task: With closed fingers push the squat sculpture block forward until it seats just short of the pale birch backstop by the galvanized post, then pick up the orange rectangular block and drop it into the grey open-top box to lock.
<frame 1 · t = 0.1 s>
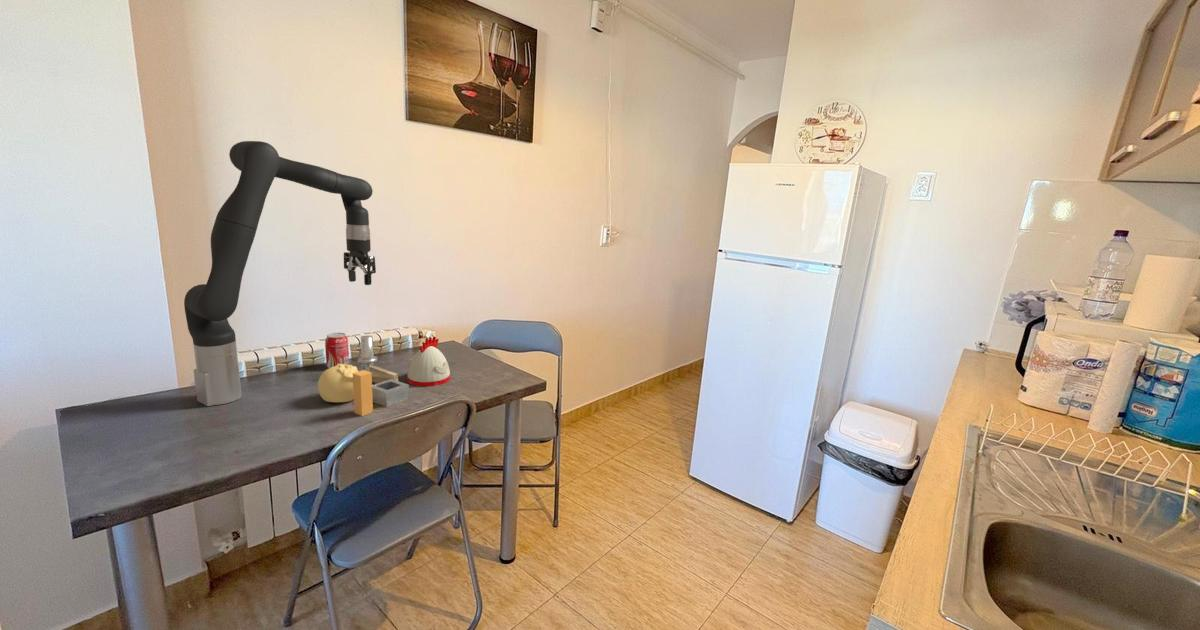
hand: (360, 283, 166), 29 cm above the table, fingers open, 8 cm apart
ringlock post: (368, 376, 158), on the table
orange rectangular block: (363, 412, 132), on the table
bracket seat: (383, 384, 153), on the table
soda can: (338, 367, 164), on the table
grey open-top box: (389, 399, 142), on the table
sculpture: (342, 399, 140), on the table
kitchen timer: (429, 379, 160), on the table
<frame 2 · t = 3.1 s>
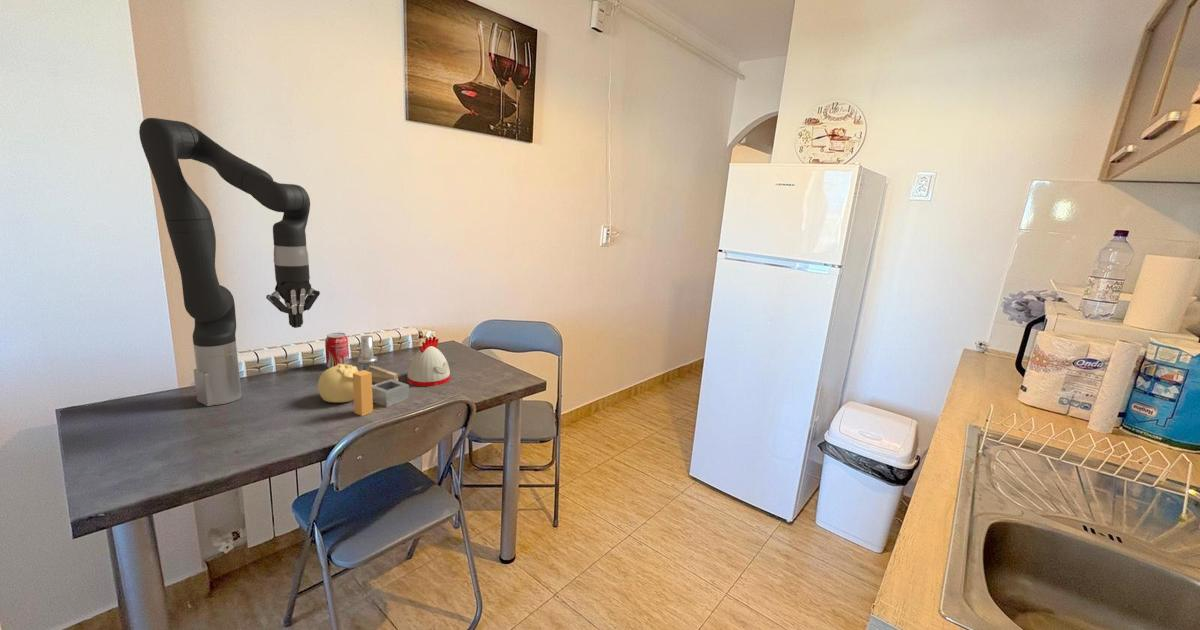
hand: (296, 326, 124), 25 cm above the table, fingers closed
nothing on the table moved.
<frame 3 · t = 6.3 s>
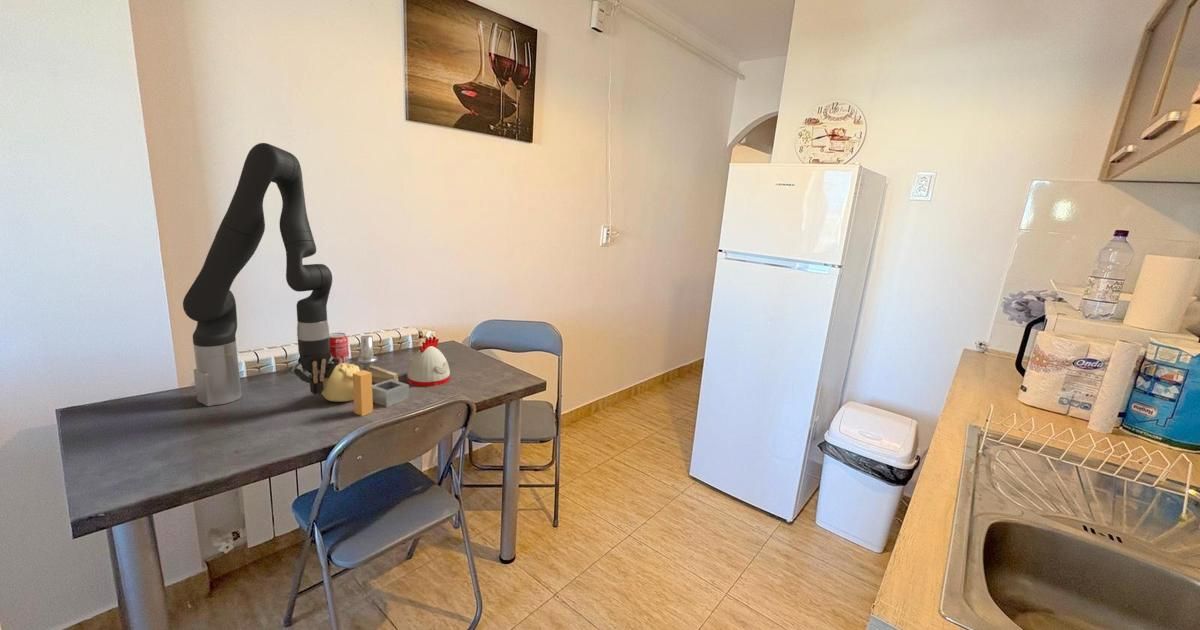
hand: (317, 393, 133), 4 cm above the table, fingers closed
sculpture: (344, 398, 141), on the table, touching gripper
everything else where it was.
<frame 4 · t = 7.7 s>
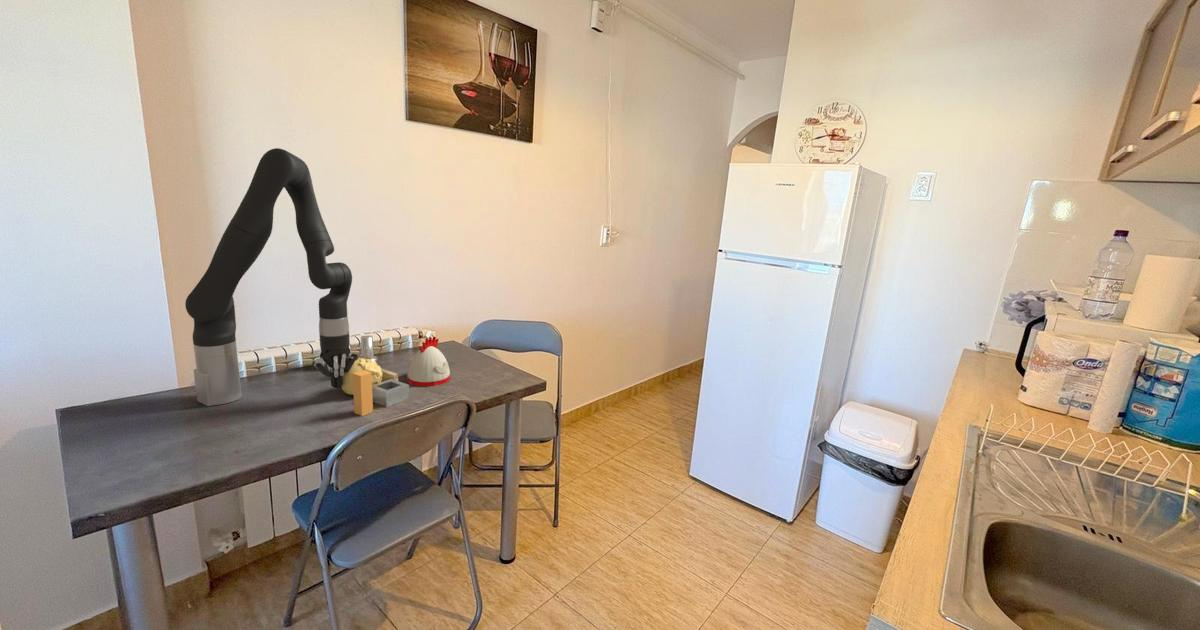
hand: (337, 387, 138), 4 cm above the table, fingers closed
sculpture: (362, 392, 146), on the table, touching gripper
everything else where it was.
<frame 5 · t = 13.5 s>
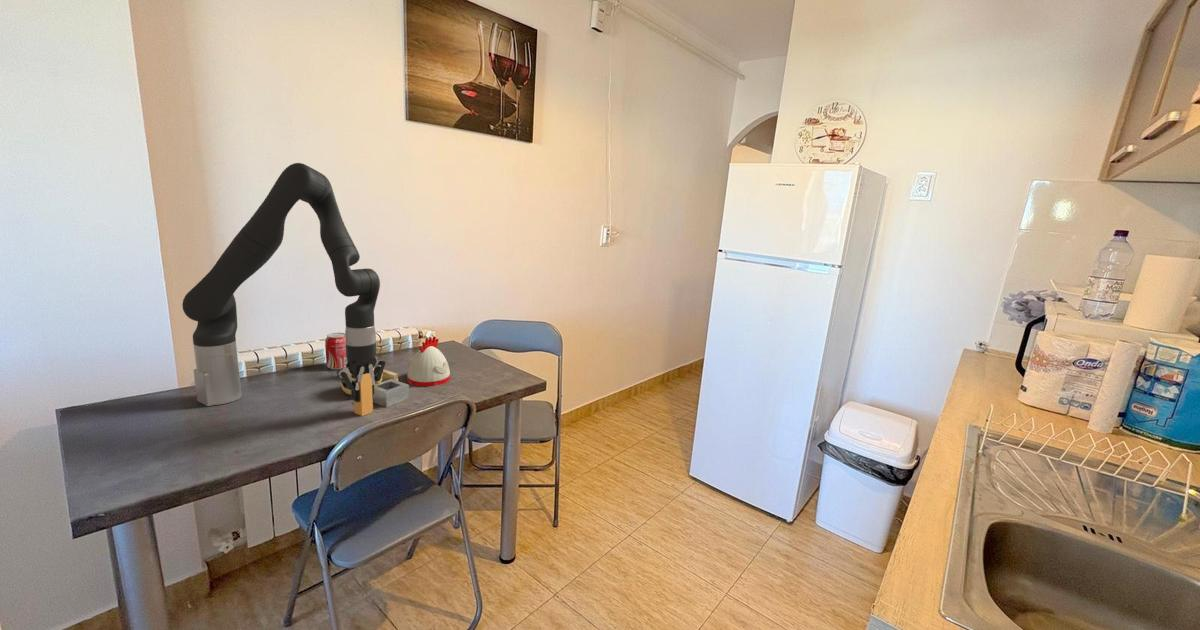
hand: (363, 398, 131), 4 cm above the table, fingers closed on orange rectangular block, 3 cm apart
orange rectangular block: (363, 412, 132), on the table, touching gripper
sculpture: (362, 392, 146), on the table
everything else where it was.
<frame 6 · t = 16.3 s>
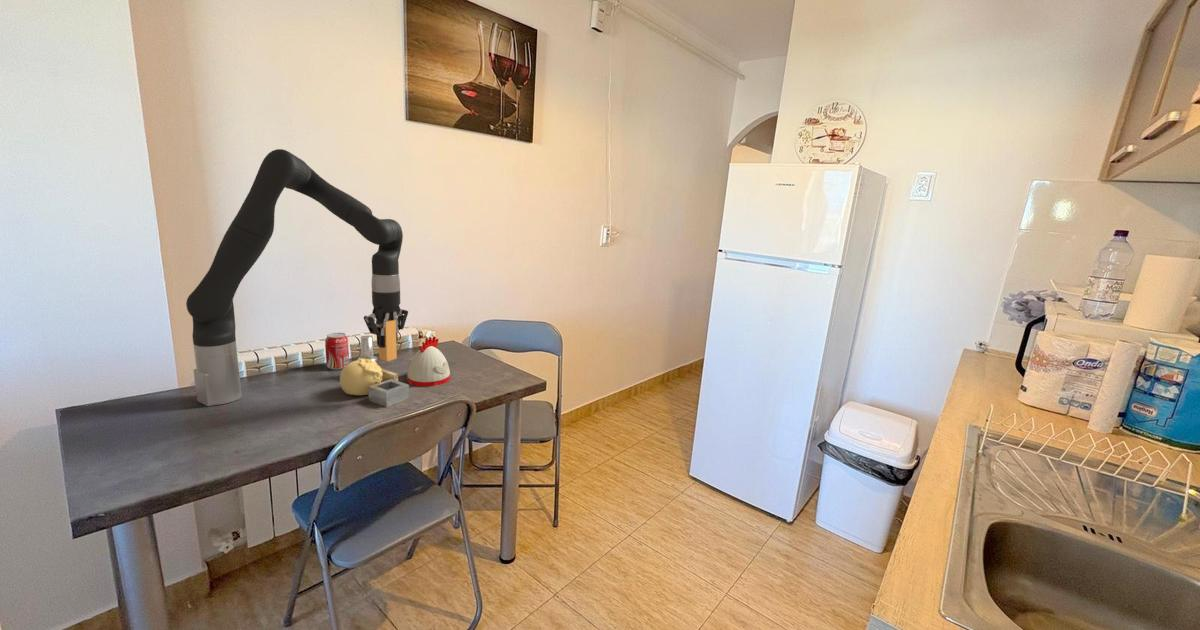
hand: (387, 345, 138), 17 cm above the table, fingers closed on orange rectangular block, 3 cm apart
orange rectangular block: (388, 358, 139), point 13 cm above the table, touching gripper
everything else where it was.
when the fingers open (6 cm above the table, at t = 19.1 s): orange rectangular block drops 1 cm, resting in grey open-top box.
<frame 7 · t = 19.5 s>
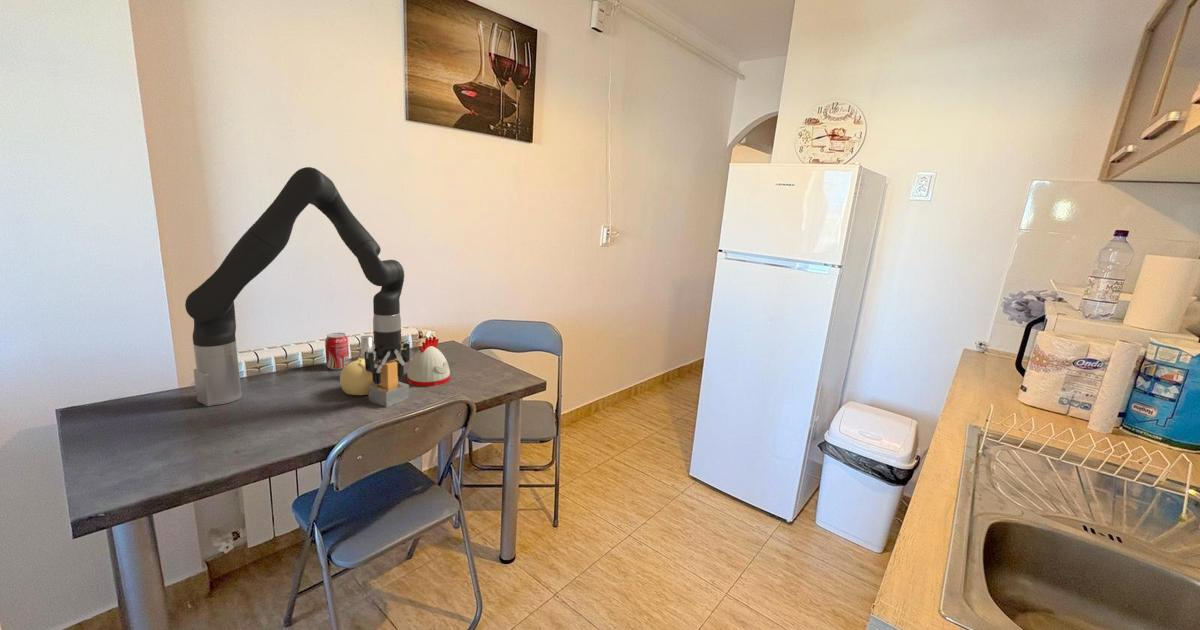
hand: (388, 379, 141), 6 cm above the table, fingers open, 7 cm apart
orange rectangular block: (389, 399, 142), resting in grey open-top box
everything else where it was.
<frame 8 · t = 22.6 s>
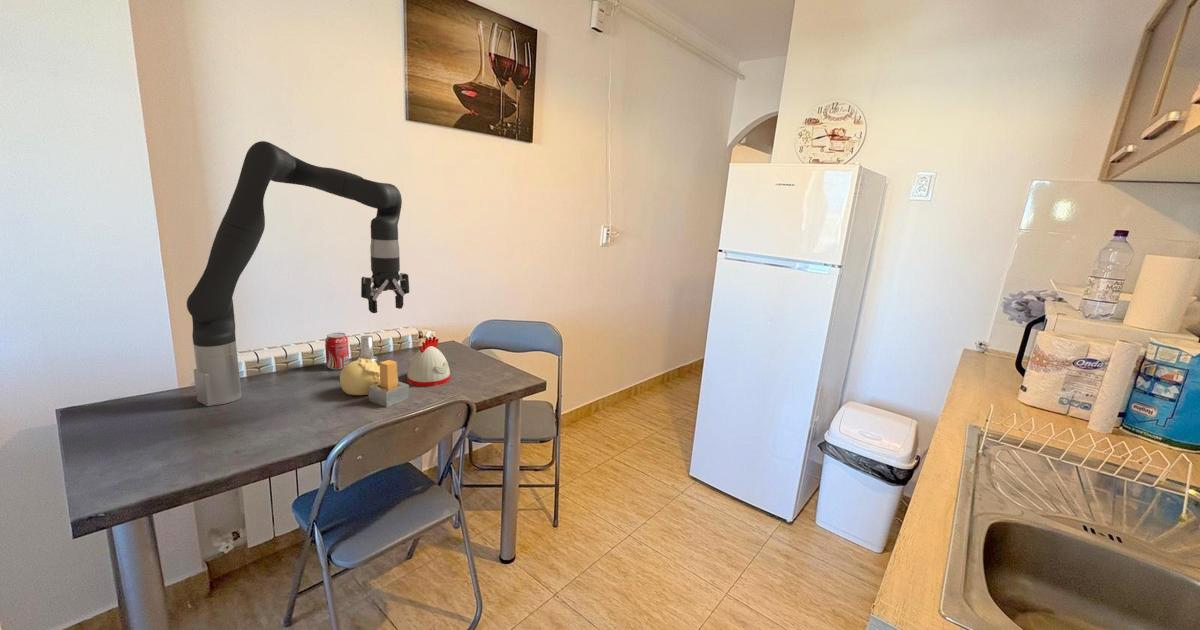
hand: (386, 310, 136), 28 cm above the table, fingers open, 8 cm apart
nothing on the table moved.
at the end: sculpture inside the target area on the table beside the bracket seat (0.2 cm from its centre), on the table; sculpture tilted 0°; orange rectangular block 0.0 cm off-centre on the grey open-top box, point 0.0 cm above the grey open-top box's base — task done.
